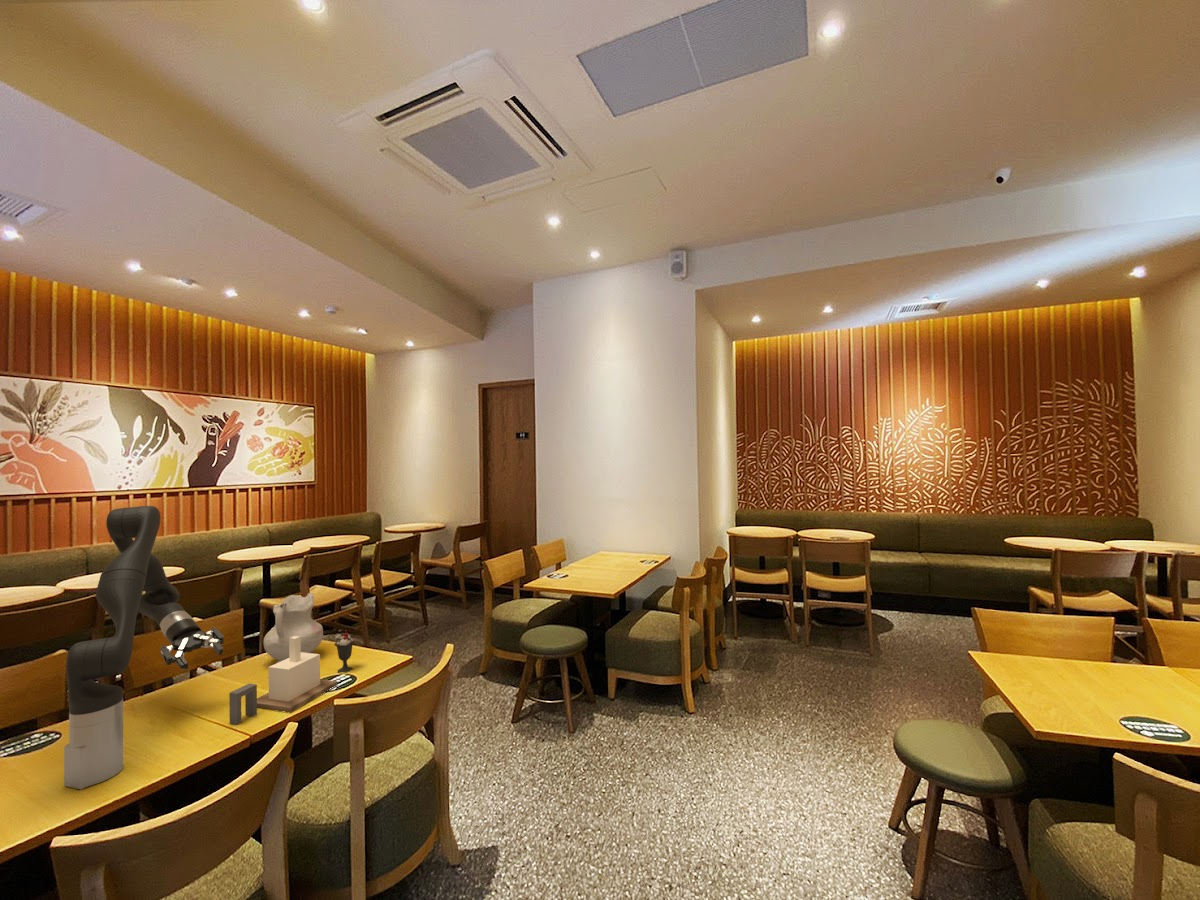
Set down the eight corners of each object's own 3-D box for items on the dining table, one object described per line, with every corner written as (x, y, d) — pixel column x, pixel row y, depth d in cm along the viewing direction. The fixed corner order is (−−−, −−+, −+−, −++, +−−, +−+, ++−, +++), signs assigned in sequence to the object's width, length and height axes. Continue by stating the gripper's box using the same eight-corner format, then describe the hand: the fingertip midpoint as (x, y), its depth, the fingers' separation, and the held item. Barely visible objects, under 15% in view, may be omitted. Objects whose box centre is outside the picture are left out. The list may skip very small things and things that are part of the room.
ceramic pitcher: (315, 671, 178) (320, 603, 180) (252, 677, 171) (258, 606, 173) (324, 650, 198) (329, 589, 200) (268, 654, 191) (274, 591, 193)
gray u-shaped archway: (237, 724, 140) (237, 693, 141) (229, 723, 141) (229, 692, 141) (256, 714, 146) (256, 684, 146) (249, 713, 147) (249, 683, 147)
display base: (290, 712, 147) (290, 707, 147) (249, 706, 151) (249, 702, 151) (337, 685, 164) (337, 681, 164) (299, 681, 168) (299, 676, 168)
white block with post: (288, 701, 151) (288, 645, 151) (268, 698, 153) (268, 643, 153) (320, 684, 162) (319, 631, 163) (301, 681, 164) (300, 630, 165)
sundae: (346, 674, 173) (346, 632, 173) (330, 673, 174) (330, 631, 174) (359, 666, 179) (359, 626, 179) (343, 665, 180) (343, 625, 181)
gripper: (150, 629, 144) (174, 662, 138) (207, 609, 156) (232, 639, 150) (150, 648, 147) (173, 681, 140) (206, 627, 159) (230, 657, 152)
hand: (204, 659), depth 145 cm, fingers open, 8 cm apart
